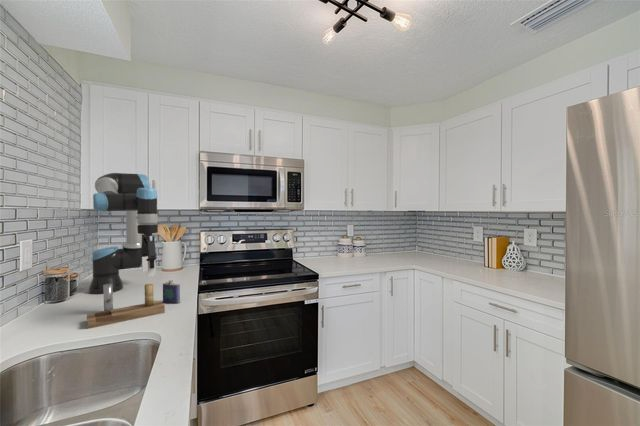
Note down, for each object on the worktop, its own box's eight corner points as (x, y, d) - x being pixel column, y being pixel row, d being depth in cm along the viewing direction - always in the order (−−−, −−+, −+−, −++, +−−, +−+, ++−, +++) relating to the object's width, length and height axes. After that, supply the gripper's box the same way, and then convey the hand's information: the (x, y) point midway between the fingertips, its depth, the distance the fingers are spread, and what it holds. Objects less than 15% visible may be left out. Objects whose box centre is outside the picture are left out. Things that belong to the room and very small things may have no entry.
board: (87, 321, 117) (86, 291, 117) (160, 307, 134) (159, 280, 134) (87, 328, 110) (86, 296, 110) (164, 312, 127) (164, 284, 127)
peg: (103, 311, 128) (103, 284, 128) (112, 310, 131) (112, 283, 130) (104, 313, 126) (103, 285, 126) (113, 312, 128) (112, 284, 128)
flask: (181, 302, 141) (180, 280, 140) (176, 304, 138) (176, 281, 138) (165, 300, 143) (165, 278, 143) (160, 302, 140) (160, 280, 140)
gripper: (133, 223, 134) (134, 270, 134) (142, 225, 114) (143, 280, 115) (151, 223, 138) (152, 268, 139) (164, 224, 119) (165, 276, 119)
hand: (148, 273), depth 127 cm, fingers open, 13 cm apart
